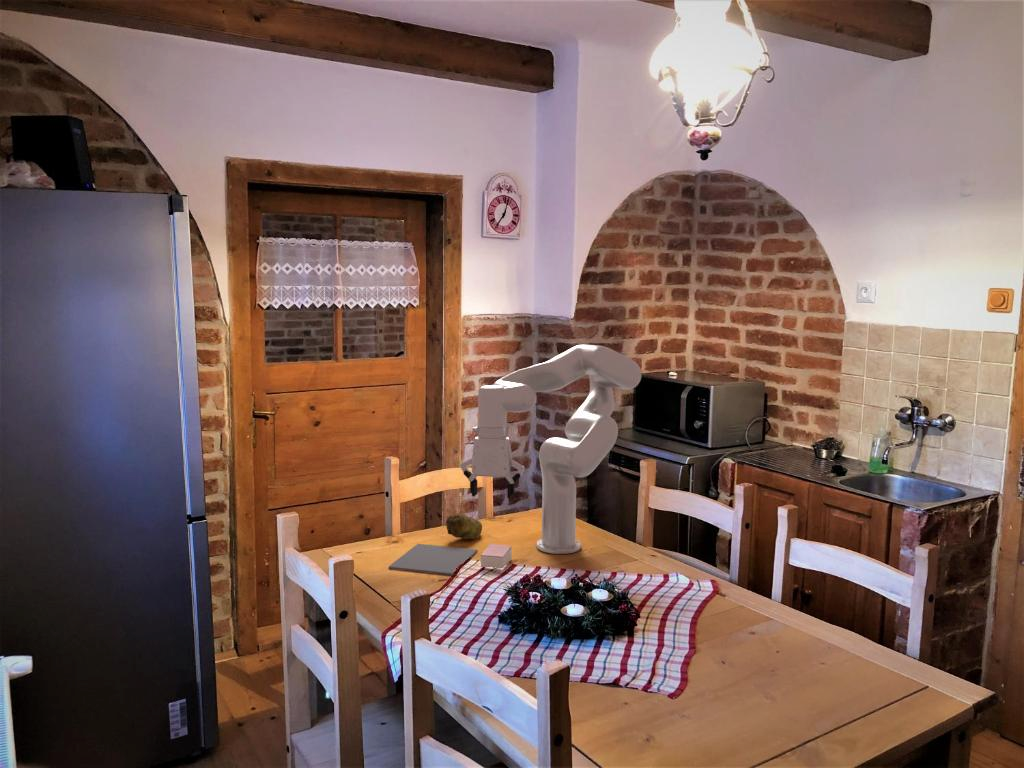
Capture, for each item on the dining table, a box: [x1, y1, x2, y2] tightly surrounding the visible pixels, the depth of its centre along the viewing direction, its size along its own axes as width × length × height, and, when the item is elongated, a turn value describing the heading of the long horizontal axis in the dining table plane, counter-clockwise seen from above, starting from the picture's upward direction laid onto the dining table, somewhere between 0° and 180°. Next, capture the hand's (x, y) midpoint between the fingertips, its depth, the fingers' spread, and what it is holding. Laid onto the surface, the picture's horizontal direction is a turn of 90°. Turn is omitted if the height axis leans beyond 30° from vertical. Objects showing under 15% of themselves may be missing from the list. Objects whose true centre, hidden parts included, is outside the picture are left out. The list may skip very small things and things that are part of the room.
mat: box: [388, 543, 478, 576], centre depth 224 cm, size 20×18×1 cm
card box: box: [480, 543, 513, 568], centre depth 221 cm, size 10×6×4 cm, turn 166°
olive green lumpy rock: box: [445, 513, 483, 541], centre depth 242 cm, size 8×13×8 cm, turn 123°
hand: (492, 496), depth 218 cm, fingers open, 9 cm apart
